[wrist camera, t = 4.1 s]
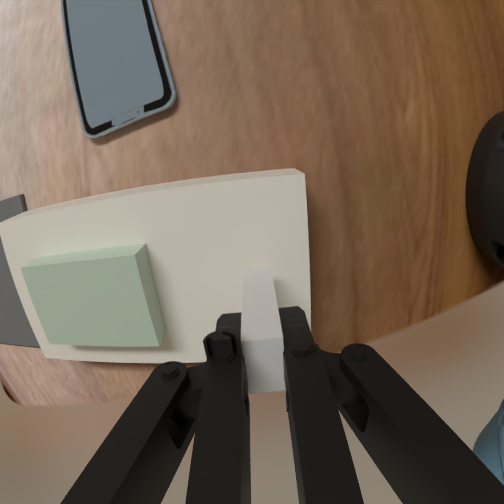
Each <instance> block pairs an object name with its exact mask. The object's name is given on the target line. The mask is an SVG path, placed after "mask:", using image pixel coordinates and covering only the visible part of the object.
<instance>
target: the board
mask: <svg viewBox="0 0 504 504" xmlns="http://www.w3.org/2000/svg"><path fill="white" fill-rule="evenodd" d="M0 236H1V240H2V244H3V248H4V251H5V255H6V258H7V262H8V265H9V268H10V271H11V274H12V277H13V280H14V283H15V286H16V289H17V292H18V295H19V297H20V300H21V303H22V305H23V308H24V310H25V313H26V315H27V318H28V320H29V323H30V325H31V327H32V330H33V332H34V334H35V336H36V339H37V341H38V343H39V345H40V347H41V349H42V351H43V354H44V356H45V358H54V359H65V360H78V361H95V362H118V363H165V362H169V361H178V362H181V363H194V362H206V360H207V358H206V353H205V349H204V345H203V340H204V338H205V337H206V336H207V335H208V334H209V333H212V332H214V331H215V330H216V323H217V319H218V318H219V317H220V316H221V315H222V314H226V313H238V312H242V283H243V269H246V268H256V267H267V266H271V270H272V276H273V282H274V287H275V293H276V299H277V305H278V308H283V307H293V306H299V307H300V308H301V309H302V310H304V311H305V315H306V318H307V321H308V324H309V327H310V331H311V297H310V262H309V237H308V218H307V201H306V185H305V174H304V173H302V172H300V171H299V170H297V169H295V168H291V169H278V170H267V171H256V172H246V173H237V174H228V175H219V176H211V177H203V178H196V179H188V180H181V181H174V182H168V183H161V184H155V185H149V186H143V187H137V188H131V189H126V190H120V191H115V192H109V193H104V194H99V195H94V196H89V197H85V198H80V199H75V200H71V201H66V202H62V203H57V204H53V205H49V206H45V207H40V208H36V209H32V210H28V211H25V212H23V213H21V214H18V215H16V216H14V217H11V218H9V219H7V220H4V221H2V222H0ZM144 243H146V246H147V251H148V256H149V260H150V265H151V269H152V274H153V278H154V282H155V286H156V290H157V294H158V298H159V302H160V306H161V310H162V314H163V318H164V321H165V325H166V331H165V334H164V336H163V339H162V341H161V344H160V346H148V347H117V346H79V345H59V344H50V343H49V341H48V339H47V337H46V334H45V332H44V330H43V327H42V325H41V323H40V320H39V318H38V315H37V313H36V310H35V308H34V305H33V302H32V300H31V297H30V294H29V291H28V289H27V286H26V283H25V280H24V277H23V274H22V270H21V267H22V266H24V265H25V264H27V263H28V262H30V261H31V260H33V259H34V258H36V257H40V256H47V255H55V254H63V253H70V252H78V251H86V250H94V249H102V248H110V247H118V246H127V245H135V244H144Z"/></svg>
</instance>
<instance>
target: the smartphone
mask: <svg viewBox="0 0 504 504" xmlns="http://www.w3.org/2000/svg"><path fill="white" fill-rule="evenodd" d="M61 10H62V20H63V29H64V37H65V44H66V51H67V57H68V63H69V69H70V74H71V80H72V85H73V90H74V95H75V100H76V104H77V109H78V113H79V117H80V121H81V125H82V129H83V132H84V134H85V135H86V136H87V137H89V138H100V137H103V136H105V135H107V134H109V133H111V132H113V131H116V130H118V129H120V128H122V127H125V126H127V125H129V124H132V123H134V122H137V121H139V120H141V119H144V118H146V117H149V116H151V115H154V114H157V113H159V112H162V111H164V110H167V109H169V108H170V107H171V106H172V105H173V104H174V103H175V101H176V98H177V91H176V88H175V84H174V81H173V77H172V74H171V70H170V67H169V63H168V60H167V55H166V51H165V47H164V45H163V40H162V36H161V33H160V31H159V27H158V23H157V20H156V16H155V12H154V8H153V5H152V1H151V0H61Z"/></svg>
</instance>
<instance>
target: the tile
mask: <svg viewBox="0 0 504 504" xmlns="http://www.w3.org/2000/svg"><path fill="white" fill-rule="evenodd" d="M21 270H22V274H23V277H24V280H25V283H26V286H27V289H28V291H29V294H30V297H31V300H32V302H33V305H34V308H35V310H36V313H37V315H38V318H39V320H40V323H41V325H42V327H43V330H44V332H45V334H46V337H47V339H48V341H49V343H50V344H59V345H79V346H117V347H148V346H160V344H161V341H162V339H163V336H164V334H165V331H166V325H165V321H164V318H163V314H162V310H161V306H160V302H159V298H158V294H157V290H156V286H155V282H154V278H153V274H152V269H151V265H150V260H149V256H148V251H147V246H146V243H144V244H135V245H127V246H118V247H110V248H102V249H94V250H86V251H78V252H70V253H63V254H55V255H47V256H40V257H36V258H34V259H33V260H31V261H30V262H28V263H27V264H25V265H24V266H22V267H21Z"/></svg>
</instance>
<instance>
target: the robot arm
mask: <svg viewBox="0 0 504 504" xmlns="http://www.w3.org/2000/svg"><path fill="white" fill-rule="evenodd" d="M467 211H468V218H469V224H470V228H471V232H472V235H473V238H474V240H475V242H476V244H477V246H478V248H479V250H480V251H481V253H482V254H483V255H484V256H485V257H486V258H487V259H488V260H490V261H491V262H493V263H494V264H496V265H497V266H499V267H500V268H502V269H504V111H502V112H500V113H498V114H496V115H495V116H493V117H492V118H491V119H490V120H489V121H488V122H487V124H486V125H485V126H484V128H483V129H482V131H481V133H480V134H479V137H478V139H477V141H476V144H475V146H474V149H473V152H472V156H471V160H470V165H469V171H468V179H467ZM203 345H204V349H205V353H206V358H207V360H206V362H204V363H202V364H200V365H197V366H194V367H190V368H186V366H185V365H184V364H183V363H181V362H178V361H169V362H165V363H162V364H160V365H159V366H157V367H156V368H155V369H154V371H153V372H152V373H151V375H150V376H149V378H148V379H147V380H146V382H145V383H144V385H143V386H142V387H141V389H140V390H139V392H138V393H137V395H136V396H135V397H134V399H133V400H132V402H131V403H130V404H129V406H128V407H127V409H126V410H125V412H124V413H123V414H122V416H121V417H120V419H119V420H118V421H117V423H116V424H115V426H114V427H113V429H112V430H111V431H110V433H109V435H108V436H107V437H106V439H105V440H104V441H103V443H102V444H101V446H100V447H99V449H98V450H97V451H96V453H95V454H94V456H93V457H92V459H91V460H90V462H89V463H88V464H87V466H86V467H85V469H84V470H83V472H82V473H81V474H80V476H79V477H78V479H77V480H76V482H75V483H74V485H73V486H72V488H71V489H70V491H69V492H68V494H67V495H66V496H65V498H64V499H63V501H62V502H61V504H161V502H162V500H163V498H164V496H165V493H166V491H167V490H168V488H169V485H170V484H171V482H172V479H173V477H174V475H175V473H176V471H177V469H178V467H179V465H180V463H181V461H182V459H183V457H184V454H185V452H186V450H187V448H188V446H189V444H190V442H191V440H192V438H193V436H194V433H195V437H194V444H193V451H192V458H191V466H190V473H189V480H188V488H187V495H186V504H251V474H250V473H251V472H250V413H249V412H250V410H249V397H248V393H249V394H252V393H264V392H275V391H285V390H286V404H287V412H288V417H289V424H290V432H291V440H292V448H293V456H294V464H295V472H296V480H297V489H298V497H299V504H364V502H363V498H362V494H361V490H360V487H359V483H358V479H357V475H356V472H355V468H354V464H353V461H352V457H351V453H350V450H349V446H348V442H347V439H346V435H345V432H344V429H343V425H342V421H341V418H340V415H339V411H340V412H341V414H342V415H343V417H344V418H345V420H346V421H347V423H348V424H349V426H350V427H351V429H352V430H353V432H354V433H355V435H356V436H357V438H358V439H359V441H360V442H361V443H362V445H363V447H364V448H365V449H366V451H367V452H368V454H369V455H370V457H371V458H372V459H373V461H374V463H375V464H376V466H377V467H378V468H379V470H380V471H381V473H382V474H383V476H384V477H385V479H386V480H387V482H388V483H389V484H390V486H391V487H392V489H393V490H394V492H395V493H396V495H397V496H398V497H399V499H400V500H401V502H402V503H403V504H504V399H503V401H502V402H501V405H500V408H499V410H498V411H497V413H496V414H495V415H494V416H493V418H492V419H491V420H490V422H489V423H488V424H487V425H486V426H485V428H484V429H483V430H482V432H481V433H480V434H479V436H478V438H477V440H476V442H475V444H474V447H473V451H472V450H470V448H469V447H468V446H467V445H466V444H465V443H464V442H463V441H462V440H461V439H460V438H459V437H458V436H457V435H456V433H455V432H453V430H452V429H451V428H450V427H449V426H448V425H447V424H446V423H445V422H444V421H443V420H442V419H441V418H440V417H439V416H438V415H437V414H436V412H435V411H434V410H433V409H432V408H431V407H430V406H429V405H428V404H427V403H426V402H425V401H424V400H423V399H422V398H421V397H420V396H419V395H418V394H417V393H416V392H415V391H414V390H413V389H412V388H411V387H410V386H409V384H407V382H406V381H405V380H404V379H403V378H402V377H401V376H400V375H399V374H398V373H397V372H396V371H395V370H394V369H393V368H392V367H391V366H390V365H389V364H388V363H387V362H386V361H385V360H384V359H383V358H382V357H381V356H380V355H379V354H378V353H377V352H376V351H375V350H374V349H373V348H372V347H370V346H368V345H365V344H358V343H356V344H351V345H348V346H346V347H344V349H343V350H342V351H341V354H340V353H330V352H325V351H322V350H321V349H320V348H319V347H318V345H317V344H315V343H314V340H313V337H312V334H311V331H310V327H309V324H308V321H307V318H306V315H305V311H304V310H302V309H301V308H300V307H299V306H293V307H283V308H278V305H277V299H276V293H275V287H274V282H273V276H272V270H271V266H267V267H256V268H246V269H243V283H242V312H238V313H226V314H222V315H221V316H220V317H219V318H218V319H217V323H216V330H215V331H214V332H212V333H209V334H208V335H207V336H206V337H205V338H204V340H203ZM338 410H339V411H338Z"/></svg>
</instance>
